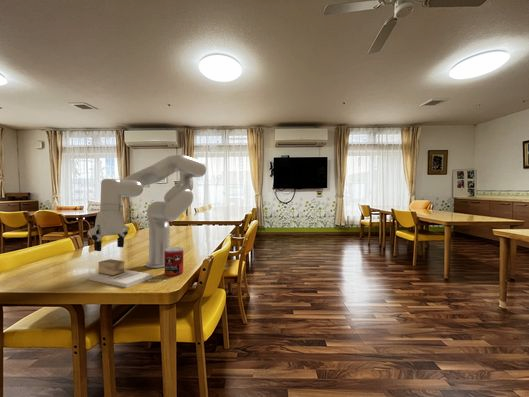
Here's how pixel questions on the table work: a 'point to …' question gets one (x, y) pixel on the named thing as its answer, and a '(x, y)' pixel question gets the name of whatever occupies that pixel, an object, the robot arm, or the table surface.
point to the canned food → (173, 261)
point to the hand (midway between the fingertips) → (109, 248)
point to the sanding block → (111, 267)
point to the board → (122, 278)
